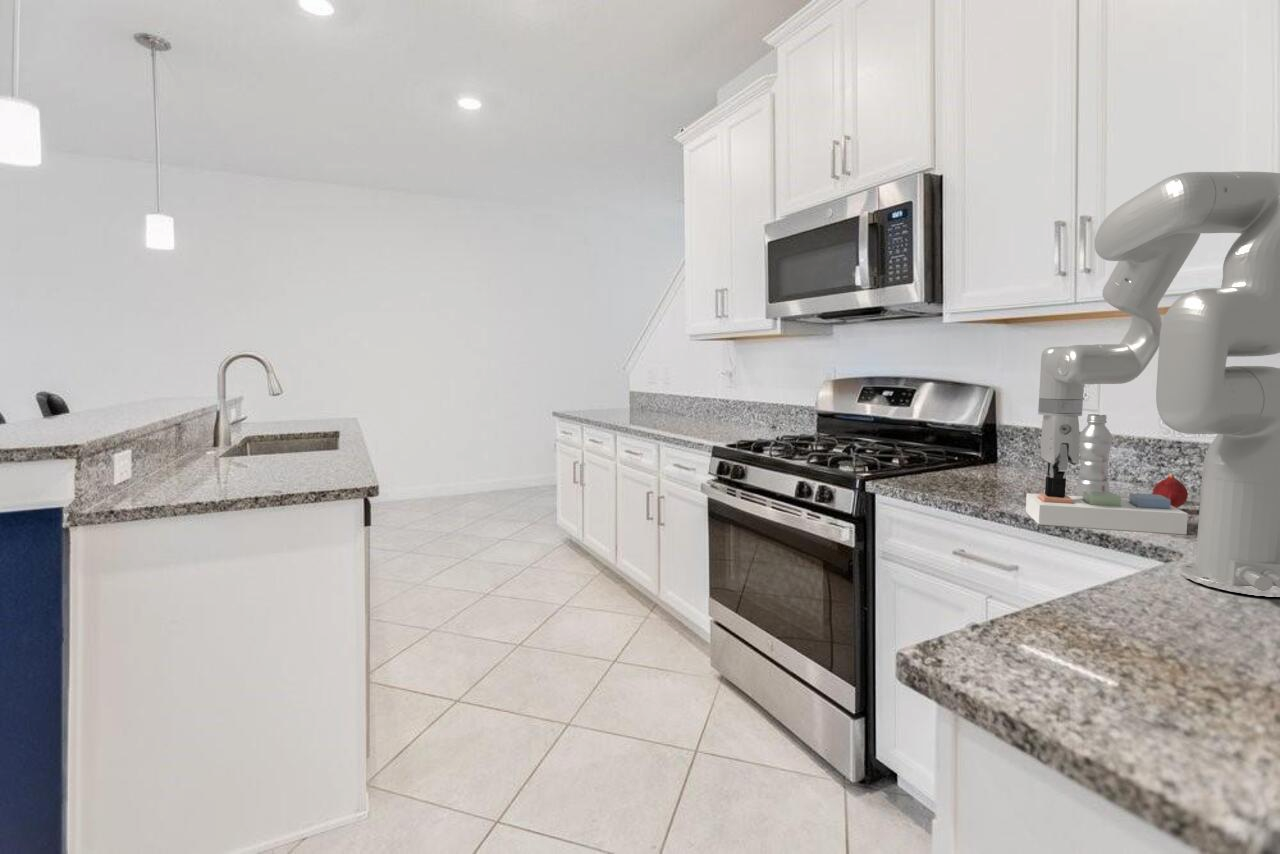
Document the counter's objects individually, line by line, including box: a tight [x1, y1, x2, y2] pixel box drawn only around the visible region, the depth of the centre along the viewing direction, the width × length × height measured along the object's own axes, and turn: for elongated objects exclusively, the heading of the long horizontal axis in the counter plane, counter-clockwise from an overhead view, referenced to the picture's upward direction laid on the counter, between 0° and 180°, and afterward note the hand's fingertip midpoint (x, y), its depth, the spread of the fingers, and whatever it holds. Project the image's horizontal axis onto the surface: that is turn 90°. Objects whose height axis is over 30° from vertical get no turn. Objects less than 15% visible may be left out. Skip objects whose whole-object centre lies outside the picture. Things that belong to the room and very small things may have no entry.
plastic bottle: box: [1075, 413, 1113, 496], centre depth 150 cm, size 6×7×20 cm
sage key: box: [1083, 491, 1122, 506], centre depth 129 cm, size 5×5×3 cm
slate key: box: [1129, 492, 1171, 509], centre depth 127 cm, size 5×5×3 cm
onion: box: [1152, 473, 1189, 509], centre depth 139 cm, size 6×6×8 cm
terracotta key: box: [1037, 493, 1073, 504], centre depth 132 cm, size 5×5×3 cm
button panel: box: [1025, 492, 1189, 535], centre depth 130 cm, size 12×24×4 cm, turn 70°
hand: (1054, 496), depth 132 cm, fingers closed
